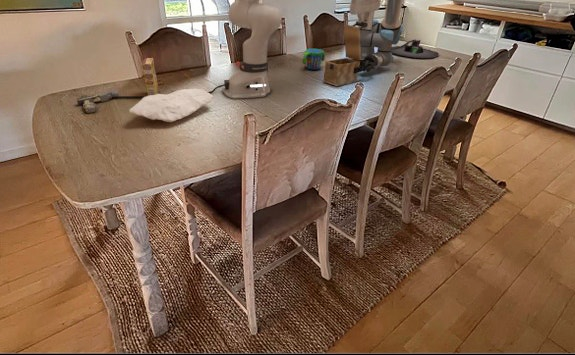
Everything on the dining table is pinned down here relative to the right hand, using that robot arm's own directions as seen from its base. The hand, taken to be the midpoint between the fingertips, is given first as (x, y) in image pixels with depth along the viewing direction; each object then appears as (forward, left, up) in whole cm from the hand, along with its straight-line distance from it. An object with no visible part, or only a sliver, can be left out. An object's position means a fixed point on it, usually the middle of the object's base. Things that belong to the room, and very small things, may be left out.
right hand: (347, 68), depth 192 cm
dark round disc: (-84, +25, -6) cm, 88 cm away
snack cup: (-12, -23, -6) cm, 27 cm away
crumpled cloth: (+79, -52, -6) cm, 95 cm away
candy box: (+65, -74, -6) cm, 98 cm away
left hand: (-8, +4, +22) cm, 24 cm away
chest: (+4, -2, -6) cm, 8 cm away
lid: (-1, 0, +13) cm, 13 cm away
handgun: (+84, -85, -6) cm, 120 cm away
